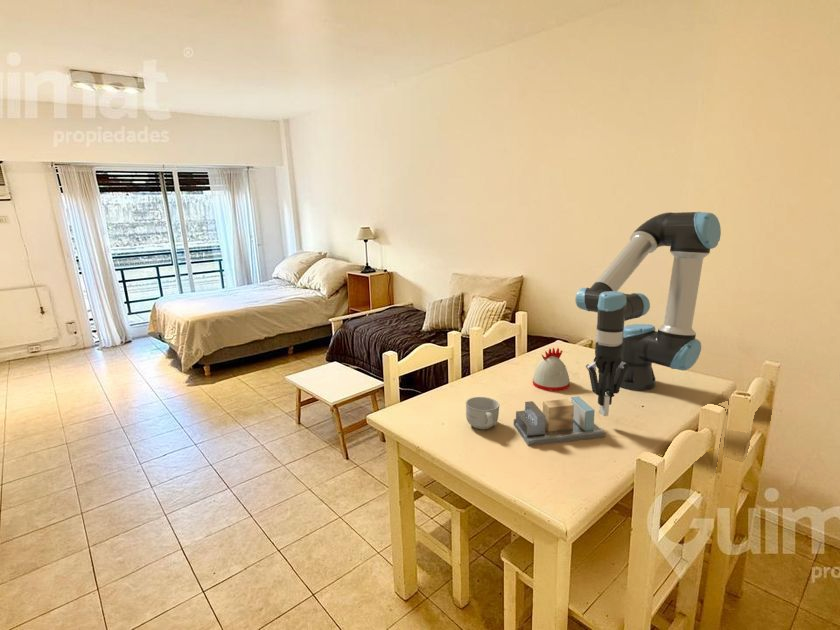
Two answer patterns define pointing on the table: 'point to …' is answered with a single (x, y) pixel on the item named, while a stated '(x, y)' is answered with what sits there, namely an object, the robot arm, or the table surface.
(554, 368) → the white and red dome
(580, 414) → the block
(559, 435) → the vise bed
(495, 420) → the teacup
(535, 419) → the fixed jaw
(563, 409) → the oak block
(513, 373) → the table surface
